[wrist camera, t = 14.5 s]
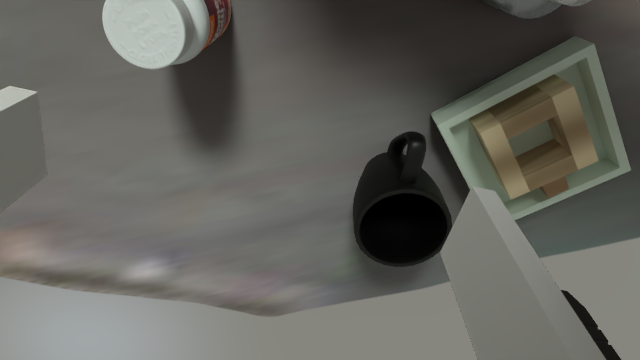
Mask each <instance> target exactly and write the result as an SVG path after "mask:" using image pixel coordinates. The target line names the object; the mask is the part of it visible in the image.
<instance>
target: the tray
mask: <svg viewBox="0 0 640 360" xmlns="http://www.w3.org/2000/svg"><path fill="white" fill-rule="evenodd" d="M552 75H556V76H558V77H559V78H561V79H563V80H564V81H566V82H568V83H570V84H571V85H573V86H574V87H575V91H576V94H577V97H578V100H579V103H580V106H581V109H582V112H583V115H584V118H585V121H586V124H587V127H588V130H589V133H590V136H591V139H592V142H593V145H594V148H595V151H596V154H597V157H598V160H599V161H597V162H595V163H593V164H590V165H588V166H586V167H584V168H581V169H579V170H577V171H575V172H572V173H570V174H568V175H566V176H565V178H566V181H567V183H568V186H569V189H568V190H566V191H563V192H561V193H559V194H556V195H554V196H552V197H549V198H547V196H546V195H545V194H544V193H543V192H542V191H541V189H540V188H537V189H534V190H532V191H530V192H528V193H525V194H523V195H521V196H519V197H516V198H514V199H512V200H511V199H510V197H509V196H508V194H507V193H506V192H505V190H504V189H503V187H502V186H501V184H500V183H499V182H498V180H497V178H496V175H495V173H494V171H493V169H492V167H491V165H490V163H489V161H488V159H487V156H486V154H485V152H484V150H483V148H482V146H481V144H480V142H479V140H478V138H477V135H476V133H475V131H474V129H473V127H472V125H471V123H470V121H469V119H468V118H470V117H472V116H474V115H476V114H478V113H480V112H482V111H484V110H486V109H488V108H490V107H492V106H494V105H495V104H497V103H499V102H501V101H503V100H505V99H507V98H509V97H511V96H513V95H515V94H517V93H519V92H521V91H523V90H525V89H526V88H528V87H530V86H532V85H534V84H536V83H538V82H540V81H542V80H544V79H546V78H548V77H550V76H552ZM430 114H431V116H432V118H433V120H434V122H435V124H436V126H437V128H438V129H439V131H440V133H441V135H442V137H443V139H444V141H445V143H446V145H447V147H448V149H449V151H450V153H451V155H452V156H453V158H454V160H455V162H456V164H457V166H458V168H459V170H460V172H461V174H462V176H463V178H464V180H465V182H466V183H467V185H468V187H469V189H470V190H471V188H472V186H474V187H478V188H483V189H488V190H492V191H495V192H496V193H497V195H498V196H499V198H500V199H501V201H502V202H503V204H504V205H505V207H506V208H507V210H508V211H509V213H510V214H511V216H512V217H513V219H514V221H515V220H517V219H519V218H522V217H524V216H526V215H529V214H531V213H533V212H536V211H538V210H540V209H542V208H545V207H547V206H549V205H552V204H554V203H556V202H559V201H561V200H563V199H566V198H568V197H570V196H573V195H575V194H577V193H580V192H582V191H584V190H587V189H589V188H591V187H594V186H596V185H598V184H601V183H603V182H605V181H608V180H610V179H612V178H615V177H617V176H619V175H622V174H624V173H626V172H629V171H631V168H630V165H629V161H628V158H627V155H626V151H625V148H624V144H623V141H622V137H621V134H620V130H619V127H618V124H617V120H616V117H615V113H614V110H613V106H612V103H611V99H610V96H609V93H608V89H607V86H606V82H605V79H604V75H603V72H602V68H601V65H600V61H599V58H598V55H597V51H596V48H595V44H594V43H592V42H589V41H587V40H584V39H582V38H579V37H576V36H574V37H572V38H570V39H569V40H567V41H565V42H563V43H561V44H559V45H557V46H556V47H554V48H552V49H550V50H548V51H546V52H544V53H542V54H541V55H539V56H537V57H535V58H533V59H531V60H529V61H528V62H526V63H524V64H522V65H520V66H518V67H516V68H514V69H513V70H511V71H509V72H507V73H505V74H503V75H501V76H499V77H498V78H496V79H494V80H492V81H490V82H488V83H486V84H485V85H483V86H481V87H479V88H477V89H475V90H473V91H471V92H470V93H468V94H466V95H464V96H462V97H460V98H458V99H457V100H455V101H453V102H451V103H449V104H447V105H445V106H443V107H442V108H440V109H438V110H436V111H434V112H432V113H430ZM552 139H554V137H553V134H552V132H551V129H550V126H549V124H548V121H545V122H543V123H541V124H538V125H536V126H534V127H532V128H530V129H528V130H526V131H524V132H522V133H520V134H518V135H516V136H514V137H512V138H510V139H508V142H509V145H510V147H511V149H512V151H513V154H514V156H515V157H516V156H518V155H520V154H523V153H525V152H527V151H529V150H531V149H533V148H535V147H537V146H539V145H542V144H544V143H546V142H548V141H550V140H552Z"/></svg>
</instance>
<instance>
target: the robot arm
mask: <svg viewBox="0 0 640 360" xmlns="http://www.w3.org/2000/svg"><path fill="white" fill-rule="evenodd" d="M46 175H47V165H46V157H45V148H44V140H43V131H42V123H41V114H40V106H39V97H38V92H35V91H31V90H26V89H22V88H17V87H12V86H8V87H6V88H4V89H2V90H0V213H1V212H2V211H4V210H5V209H6V208H7V207H8V206H10V205H11V204H12V203H13V202H15V201H16V200H17V199H18V198H19V197H21V196H22V195H23V194H24V193H26V192H27V191H28V190H29V189H30V188H32V187H33V186H34V185H35V184H36V183H38V182H39V181H40V180H41V179H43V178H44V177H45V176H46ZM440 254H441V257H442V260H443V262H444V265H445V268H446V271H447V274H448V277H449V280H450V282H451V285H452V288H453V291H454V294H455V296H456V299H457V302H458V305H459V308H460V311H461V314H462V316H463V319H464V322H465V325H466V328H467V331H468V334H469V336H470V339H471V342H472V345H473V348H474V351H475V354H476V356H477V359H478V360H621V359H620V357H619V356H618V355H617V353H616V352H615V350H614V349H613V347H612V346H611V345H608V340H607V339H606V337H605V336H604V334H603V333H602V331H601V330H599V329H598V328H597V327H598V326H597V324H596V323H595V321H594V320H593V319H592V317H591V316H590V314H589V313H588V311H587V310H586V308H585V307H584V306H582V305H581V304H580V303H579V302H578V301H577V300H576V299H575V298H574V297H573V296H572V295H571V294H570V293H568V292H567V291H563V290H560V289H559V287H558V286H557V284H556V283H555V281H554V280H553V278H552V277H551V275H550V274H549V272H548V271H547V269H546V268H545V266H544V264H543V263H542V261H541V260H540V258H539V257H538V255H537V254H536V252H535V251H534V249H533V248H532V246H531V245H530V243H529V242H528V240H527V239H526V237H525V236H524V234H523V233H522V231H521V230H520V228H519V227H518V225H517V224H516V222H515V221H514V219H513V217H512V216H511V214H510V213H509V211H508V210H507V208H506V207H505V205H504V204H503V202H502V201H501V199H500V198H499V196H498V195H497V193H496V192H495V191H492V190H488V189H483V188H478V187H474V186H472V188H471V190H470V192H469V194H468V196H467V198H466V200H465V202H464V204H463V206H462V208H461V210H460V213H459V215H458V217H457V219H456V221H455V223H454V225H453V227H452V229H451V231H450V233H449V235H448V237H447V239H446V241H445V243H444V245H443V248H442V250H441V252H440Z"/></svg>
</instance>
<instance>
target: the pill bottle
mask: <svg viewBox="0 0 640 360" xmlns="http://www.w3.org/2000/svg"><path fill="white" fill-rule="evenodd" d="M230 17H231V4H230V0H106V2H105V4H104V8H103V14H102V20H103V27H104V30H105V34H106V36H107V38H108V40H109V42H110V44H111V45H112V47H113V48H114V49H115V50H116V52H117V53H118V54H119V55H120V56H121V57H123V58H124V59H125V60H127V61H128V62H130V63H132V64H134V65H136V66H139V67H141V68H146V69H160V68H164V67H167V66H169V65H176V64H181V63H185V62H187V61H189V60H191V59H193V58H194V57H196V56H197V55H198V54H199V53H200V52H201V51H203V50H204V49H205V48H207V47H208V46H209V45H210V44H211V43H213V42H214V41H215V40H216V39H218V38H219V37H220V36H221V35H222V34H223V33H224V31H225V30H226V28H227V26H228V24H229V21H230Z"/></svg>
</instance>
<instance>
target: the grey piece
mask: <svg viewBox="0 0 640 360" xmlns="http://www.w3.org/2000/svg"><path fill="white" fill-rule="evenodd" d="M481 1H482V2H484V3H485V4H487V5H489V6H492V7H494V8H497V9H499V10H502V11H504V12H507V13H509V14H512V15H514V16H517V17H520V18H527V19H531V18H538V17H542V16H544V15H547V14H549V13H551V12H553V11H554V10H556V9H557V8H558V7H560V6H561V5H562V4H564V5H568V6H581V5H584V4H586V3H588V2H590V1H591V0H481Z"/></svg>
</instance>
